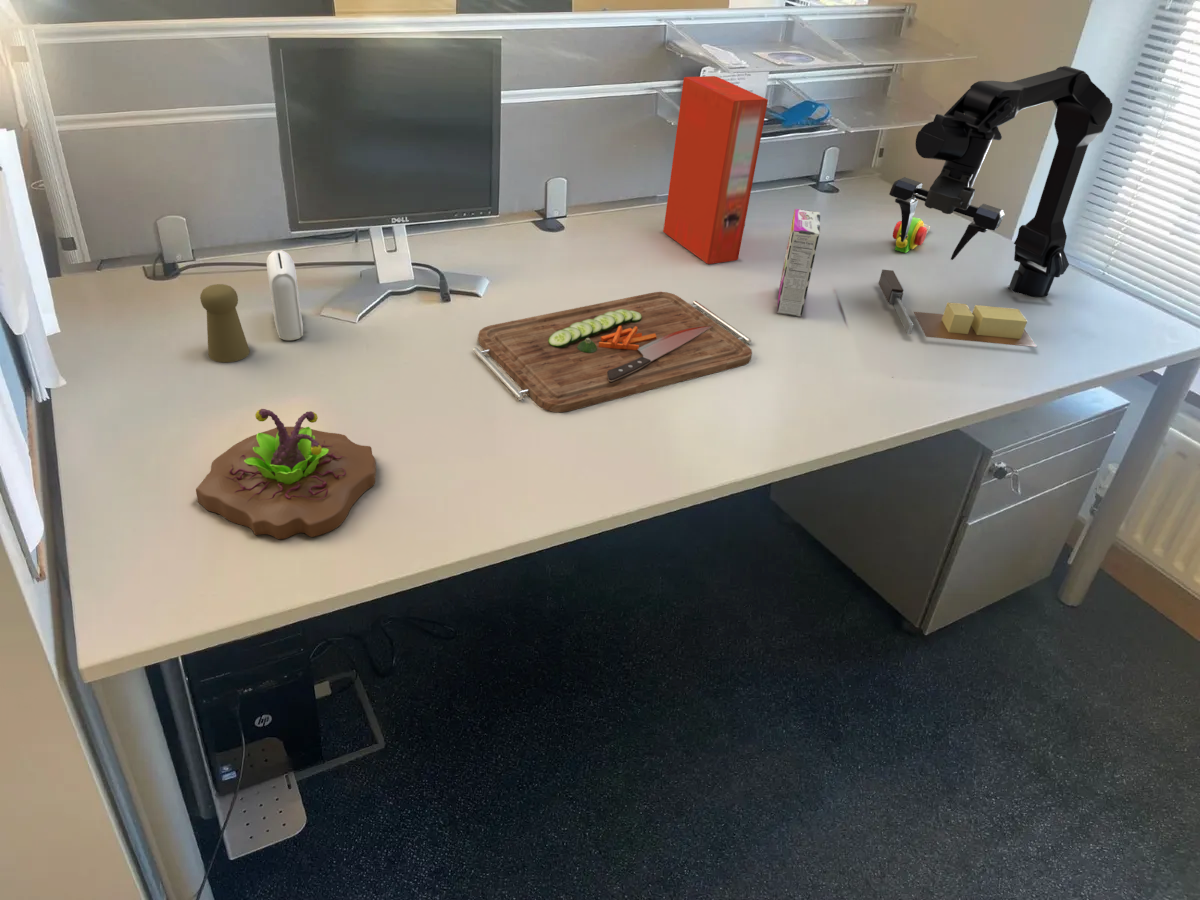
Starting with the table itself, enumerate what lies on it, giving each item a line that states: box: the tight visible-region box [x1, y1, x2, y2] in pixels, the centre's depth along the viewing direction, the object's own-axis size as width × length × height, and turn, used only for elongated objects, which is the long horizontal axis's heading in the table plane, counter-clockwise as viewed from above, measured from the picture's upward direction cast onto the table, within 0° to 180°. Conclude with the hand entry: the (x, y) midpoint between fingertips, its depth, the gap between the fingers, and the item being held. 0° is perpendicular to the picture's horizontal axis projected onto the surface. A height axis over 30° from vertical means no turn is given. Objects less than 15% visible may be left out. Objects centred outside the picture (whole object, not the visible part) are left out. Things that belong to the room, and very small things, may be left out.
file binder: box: [662, 75, 769, 265], centre depth 181 cm, size 8×17×32 cm, turn 28°
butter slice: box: [942, 301, 974, 334], centre depth 164 cm, size 4×5×4 cm
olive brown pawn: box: [199, 283, 251, 363], centre depth 137 cm, size 6×6×11 cm
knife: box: [878, 269, 914, 335], centre depth 169 cm, size 2×22×4 cm, turn 177°
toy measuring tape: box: [892, 216, 931, 254], centre depth 200 cm, size 6×19×7 cm, turn 145°
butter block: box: [971, 304, 1028, 339], centre depth 164 cm, size 8×5×4 cm, turn 87°
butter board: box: [913, 311, 1038, 348], centre depth 165 cm, size 20×10×1 cm, turn 87°
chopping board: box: [472, 291, 753, 413], centre depth 150 cm, size 45×27×3 cm, turn 122°
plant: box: [195, 408, 377, 540], centre depth 111 cm, size 20×20×11 cm
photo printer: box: [266, 249, 304, 341], centre depth 145 cm, size 10×4×12 cm, turn 20°
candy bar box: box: [776, 208, 821, 318], centre depth 166 cm, size 11×5×16 cm, turn 168°
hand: (926, 250), depth 160 cm, fingers open, 9 cm apart
